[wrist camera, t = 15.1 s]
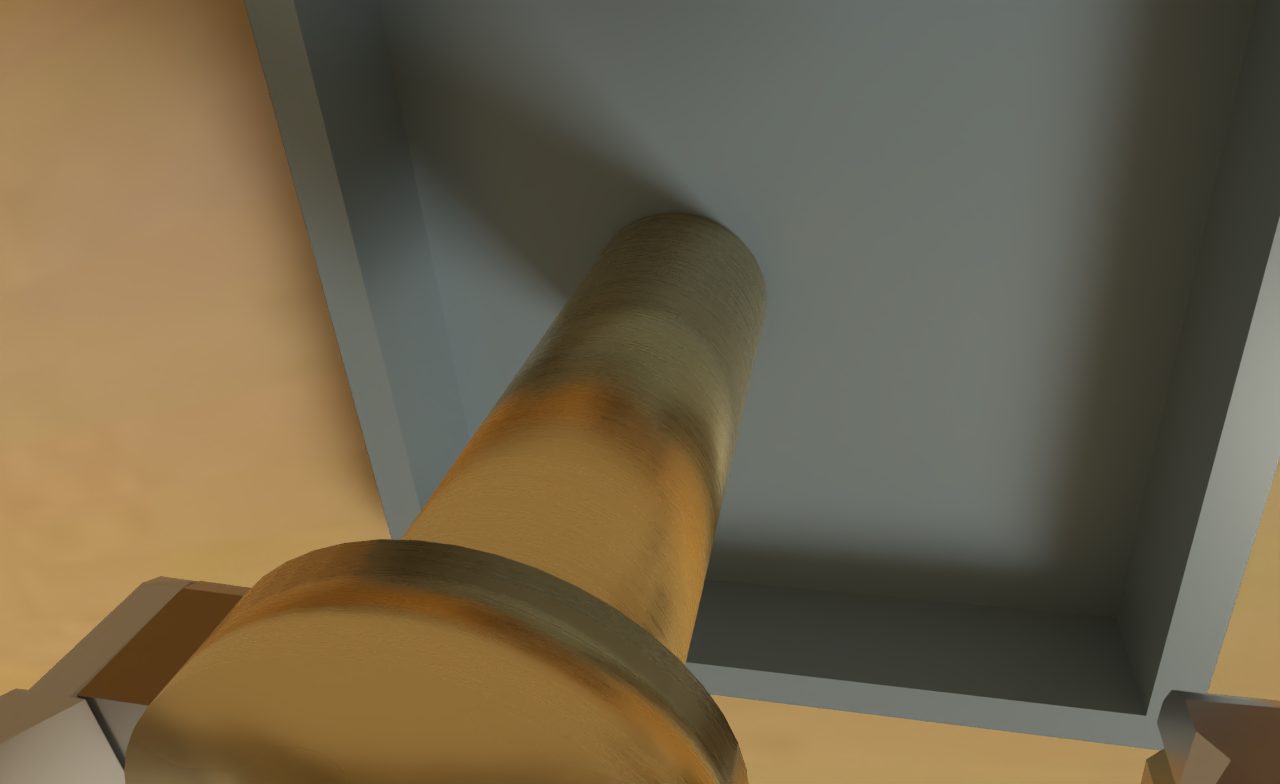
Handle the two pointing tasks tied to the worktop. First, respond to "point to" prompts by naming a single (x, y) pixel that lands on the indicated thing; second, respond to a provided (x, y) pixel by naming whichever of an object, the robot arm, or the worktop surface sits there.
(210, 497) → the worktop surface
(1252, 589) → the worktop surface
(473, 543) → the pin
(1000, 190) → the tray
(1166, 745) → the robot arm
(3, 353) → the worktop surface
